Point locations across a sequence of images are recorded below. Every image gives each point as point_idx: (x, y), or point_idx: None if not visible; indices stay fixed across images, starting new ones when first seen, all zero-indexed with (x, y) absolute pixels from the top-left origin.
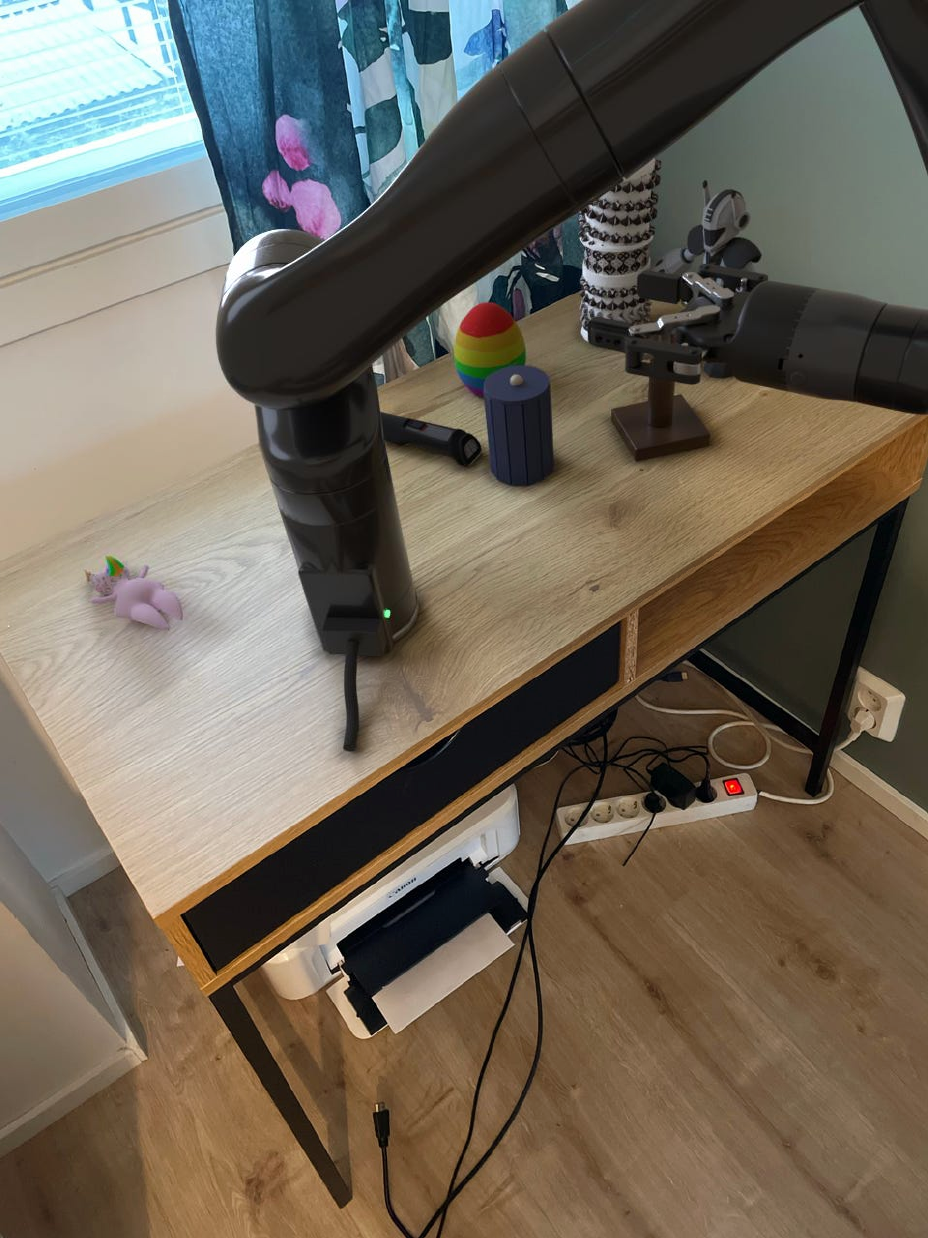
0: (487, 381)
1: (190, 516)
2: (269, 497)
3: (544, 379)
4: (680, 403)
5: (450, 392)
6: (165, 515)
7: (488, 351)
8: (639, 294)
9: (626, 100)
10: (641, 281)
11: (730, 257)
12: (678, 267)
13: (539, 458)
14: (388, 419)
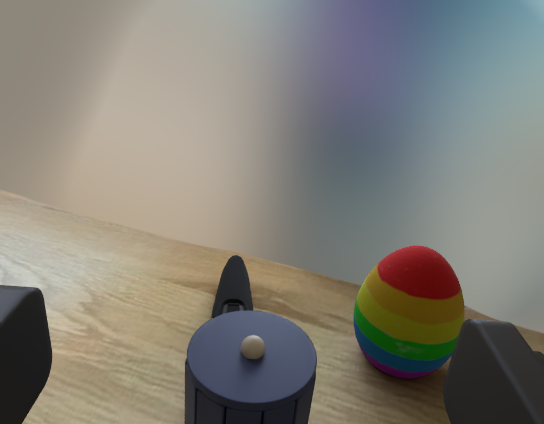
0: (236, 314)
1: (51, 232)
2: (91, 264)
3: (286, 387)
4: None
5: (348, 322)
6: (51, 221)
7: (380, 304)
8: (445, 394)
9: None
10: (464, 354)
11: None
12: None
13: None
14: (229, 285)
